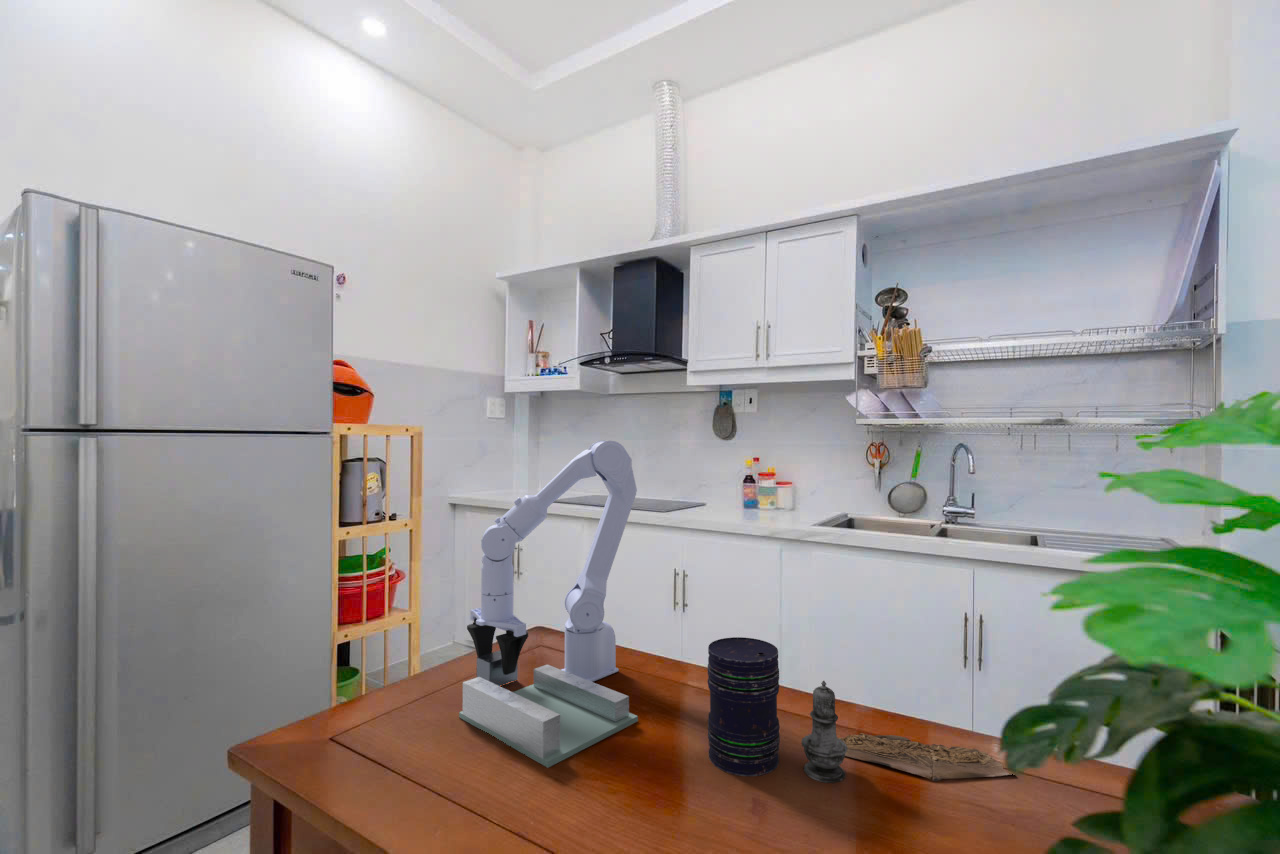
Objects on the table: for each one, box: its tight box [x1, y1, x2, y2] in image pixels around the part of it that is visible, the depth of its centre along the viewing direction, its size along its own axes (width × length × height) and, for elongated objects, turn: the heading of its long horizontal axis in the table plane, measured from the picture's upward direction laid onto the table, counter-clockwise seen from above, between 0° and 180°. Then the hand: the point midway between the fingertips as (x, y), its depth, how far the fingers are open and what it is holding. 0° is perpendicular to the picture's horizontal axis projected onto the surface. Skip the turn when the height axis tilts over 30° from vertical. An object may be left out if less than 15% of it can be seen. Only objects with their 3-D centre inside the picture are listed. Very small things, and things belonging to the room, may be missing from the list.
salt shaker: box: [800, 680, 848, 784], centre depth 80 cm, size 6×6×12 cm
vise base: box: [458, 676, 639, 769], centre depth 95 cm, size 18×22×6 cm
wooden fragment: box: [838, 732, 1017, 782], centre depth 84 cm, size 26×11×1 cm, turn 70°
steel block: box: [476, 649, 519, 686], centre depth 110 cm, size 6×4×5 cm, turn 138°
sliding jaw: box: [533, 664, 630, 722], centre depth 100 cm, size 3×20×3 cm, turn 48°
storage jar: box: [707, 636, 781, 777], centre depth 84 cm, size 10×10×15 cm
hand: (496, 667), depth 110 cm, fingers open, 7 cm apart
